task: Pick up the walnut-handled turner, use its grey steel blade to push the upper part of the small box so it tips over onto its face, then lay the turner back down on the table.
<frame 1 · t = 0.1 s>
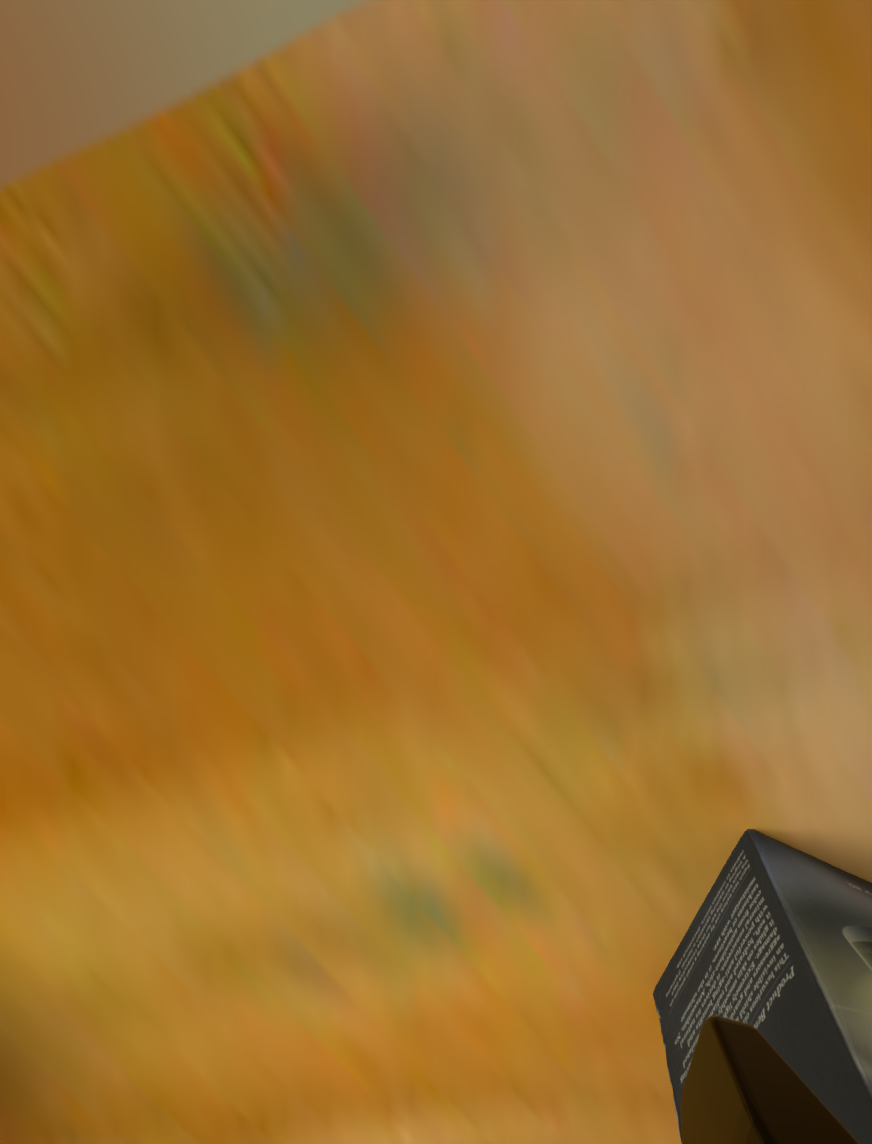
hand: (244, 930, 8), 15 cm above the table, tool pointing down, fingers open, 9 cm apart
small box: (868, 982, 23), on the table
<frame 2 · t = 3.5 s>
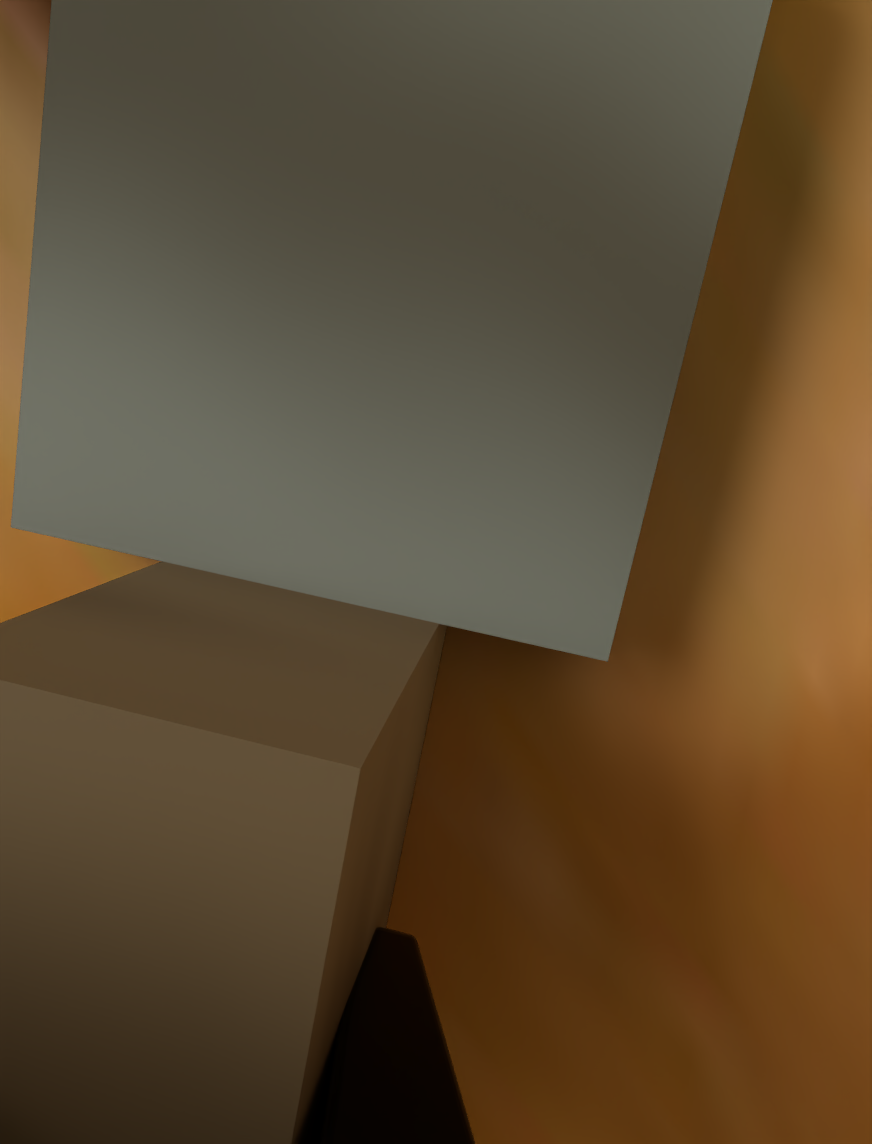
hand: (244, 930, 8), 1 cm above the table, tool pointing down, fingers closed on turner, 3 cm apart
turner: (328, 570, 8), on the table, touching gripper
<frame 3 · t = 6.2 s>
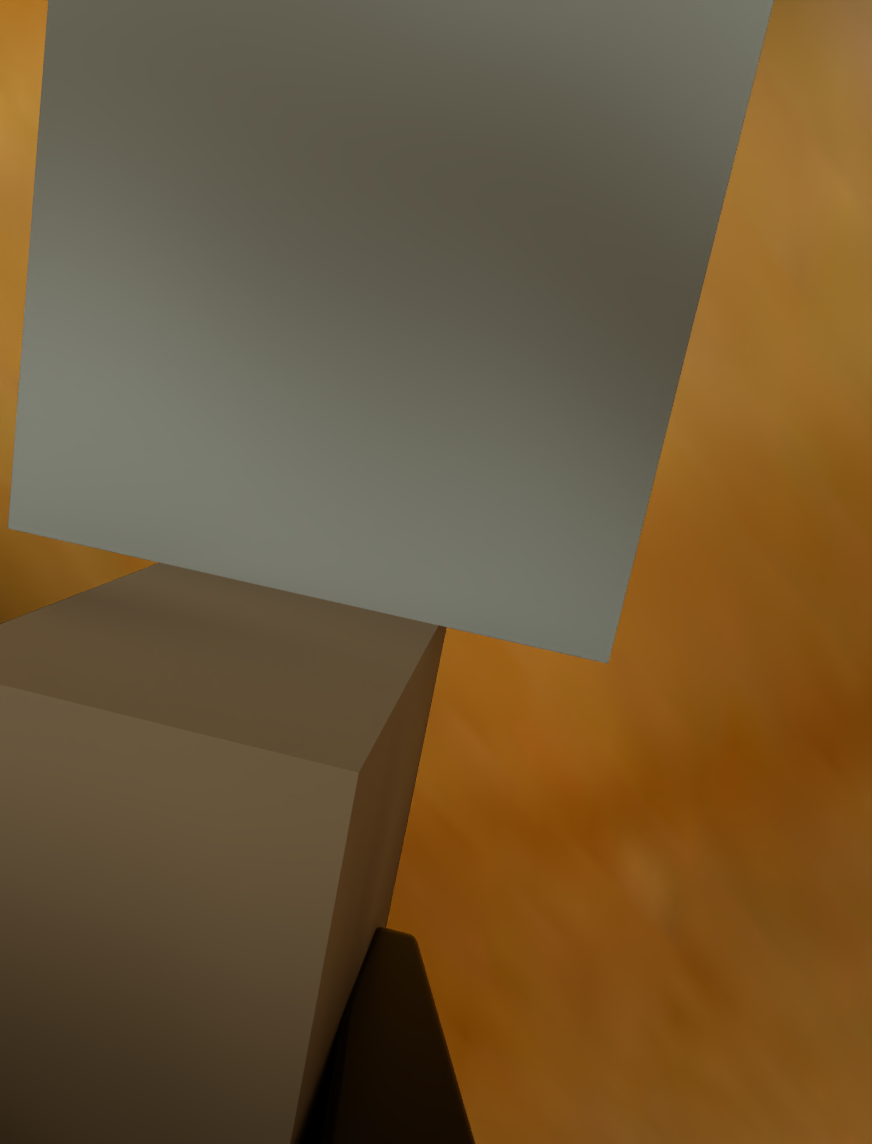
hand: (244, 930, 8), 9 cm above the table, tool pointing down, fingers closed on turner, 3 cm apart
turner: (327, 571, 8), point 8 cm above the table, touching gripper
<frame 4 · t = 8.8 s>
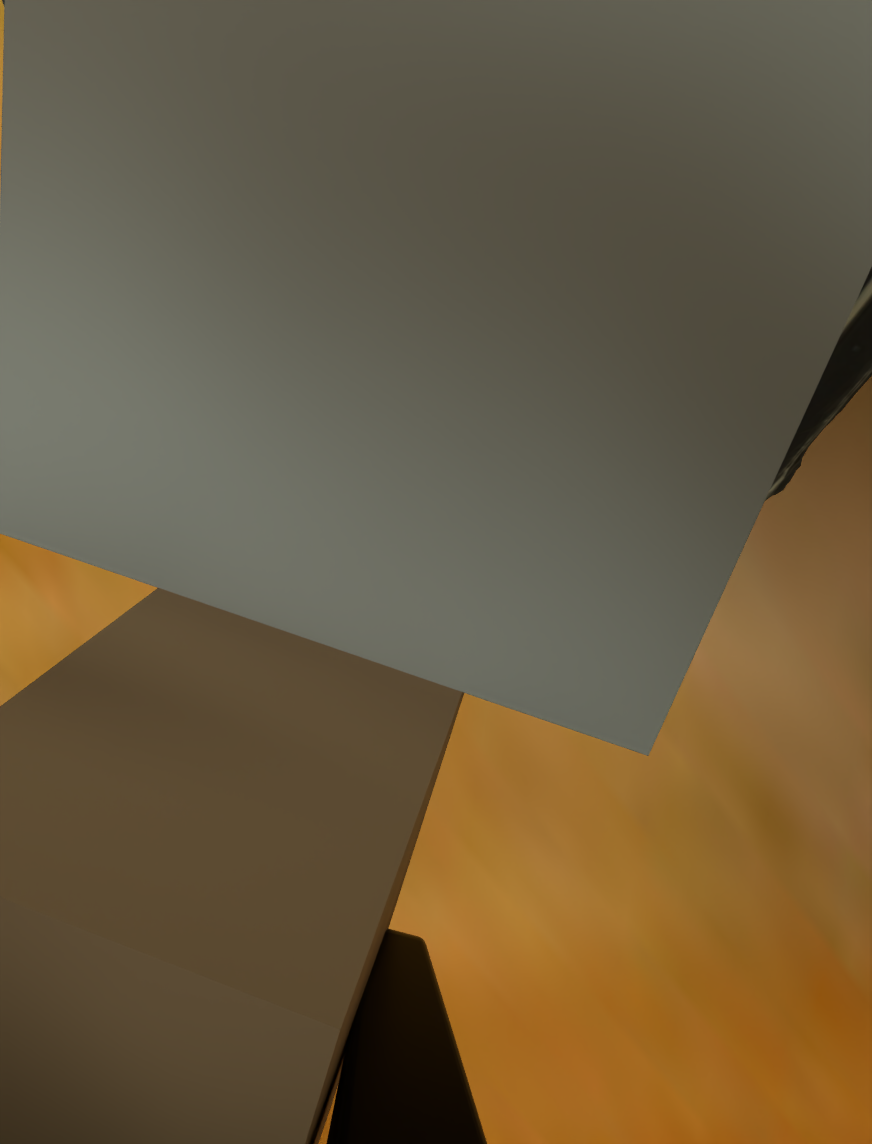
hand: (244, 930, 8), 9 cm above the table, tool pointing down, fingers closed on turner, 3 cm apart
turner: (346, 589, 7), point 8 cm above the table, tilted 12°, touching gripper
small box: (472, 246, 13), point 2 cm above the table
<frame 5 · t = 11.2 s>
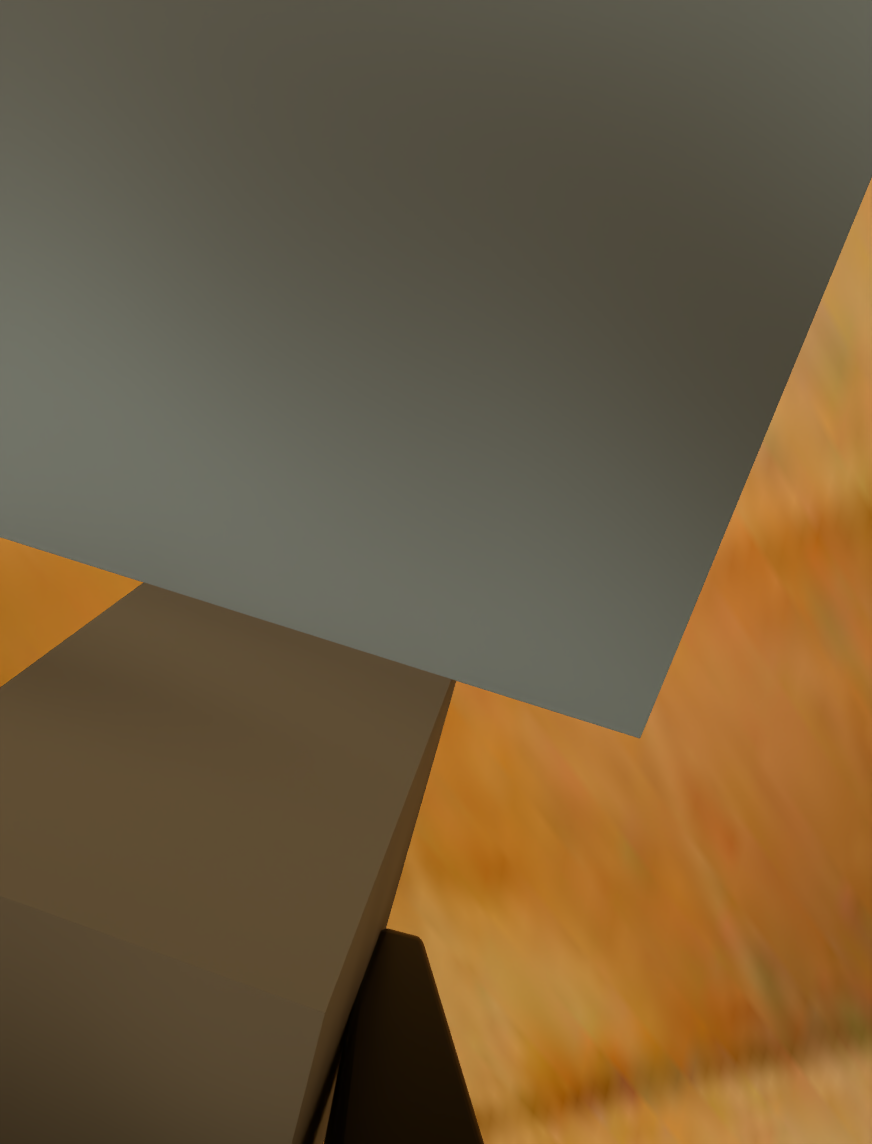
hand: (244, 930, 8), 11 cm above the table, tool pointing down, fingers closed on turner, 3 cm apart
turner: (334, 581, 7), point 11 cm above the table, tilted 12°, touching gripper
when the fingers open (2 cm above the table, at t = 13.1 s): turner drops 2 cm, on the table.
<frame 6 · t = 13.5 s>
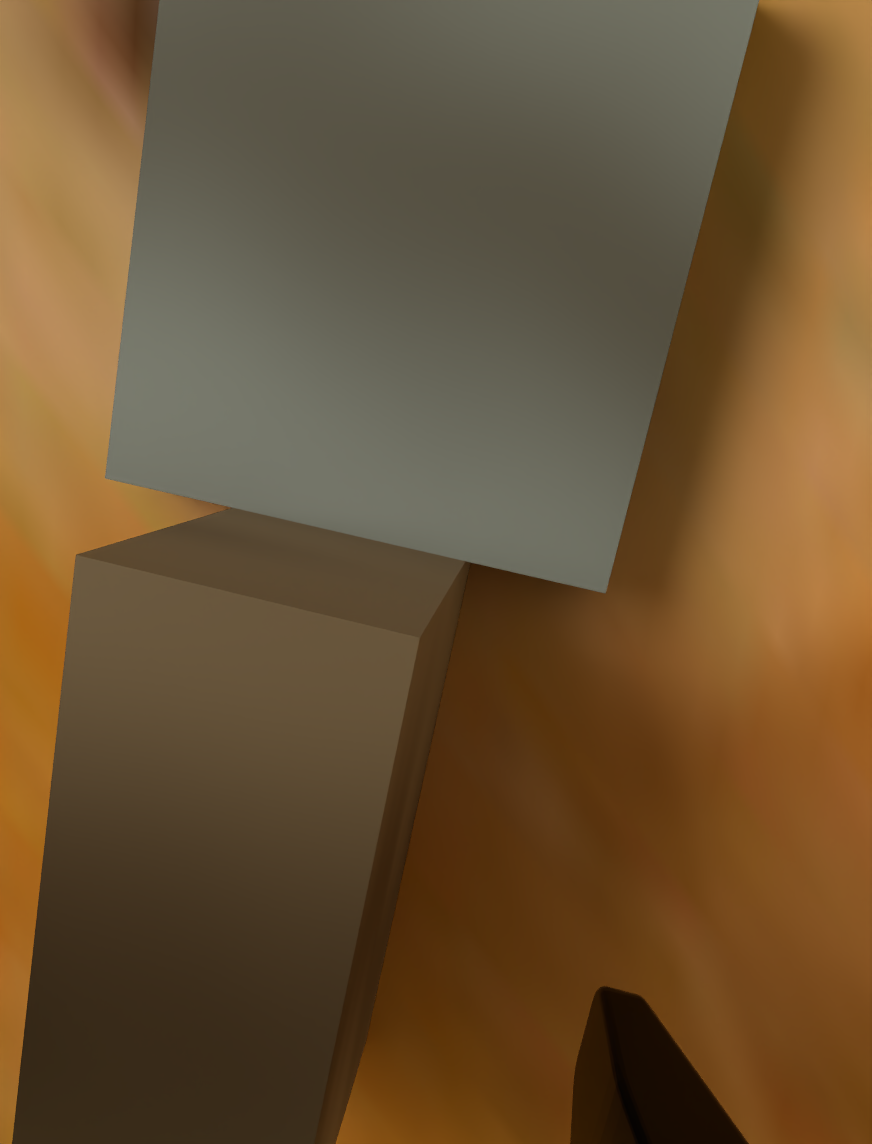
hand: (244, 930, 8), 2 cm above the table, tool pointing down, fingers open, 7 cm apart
turner: (368, 521, 10), on the table
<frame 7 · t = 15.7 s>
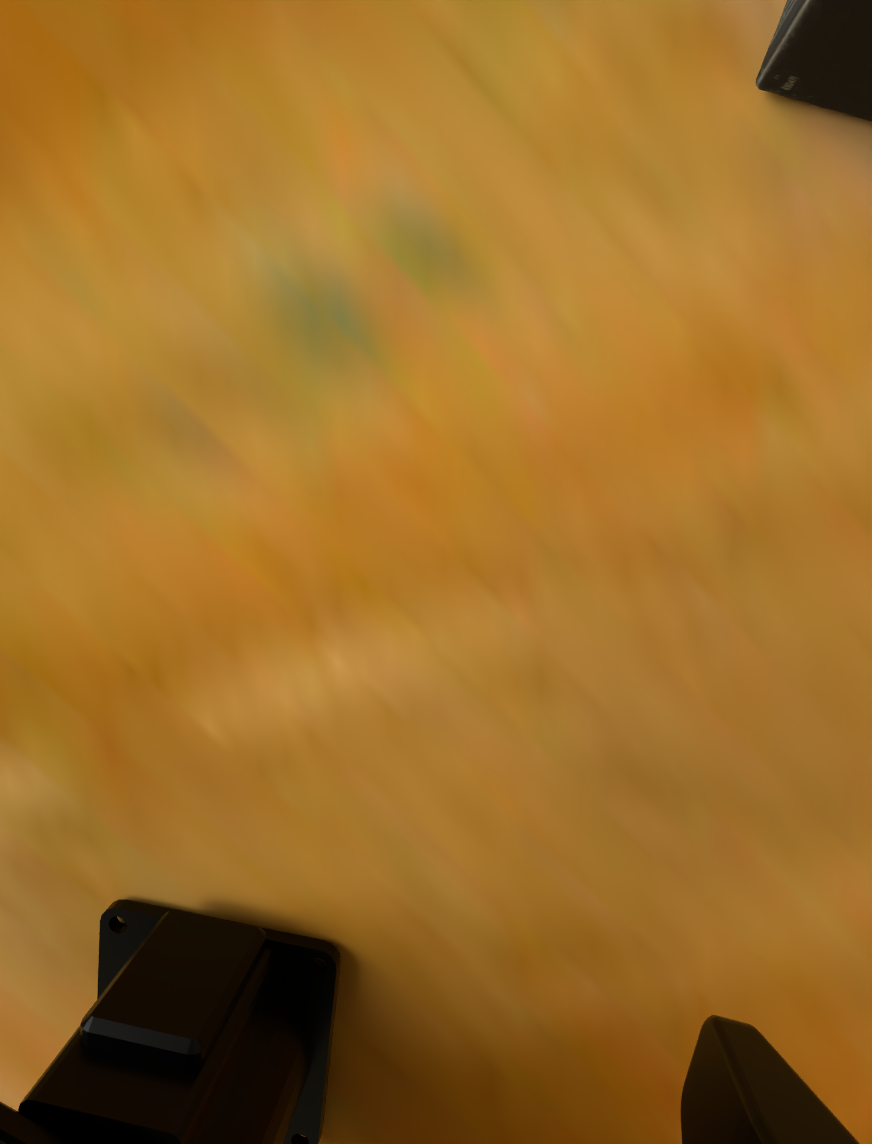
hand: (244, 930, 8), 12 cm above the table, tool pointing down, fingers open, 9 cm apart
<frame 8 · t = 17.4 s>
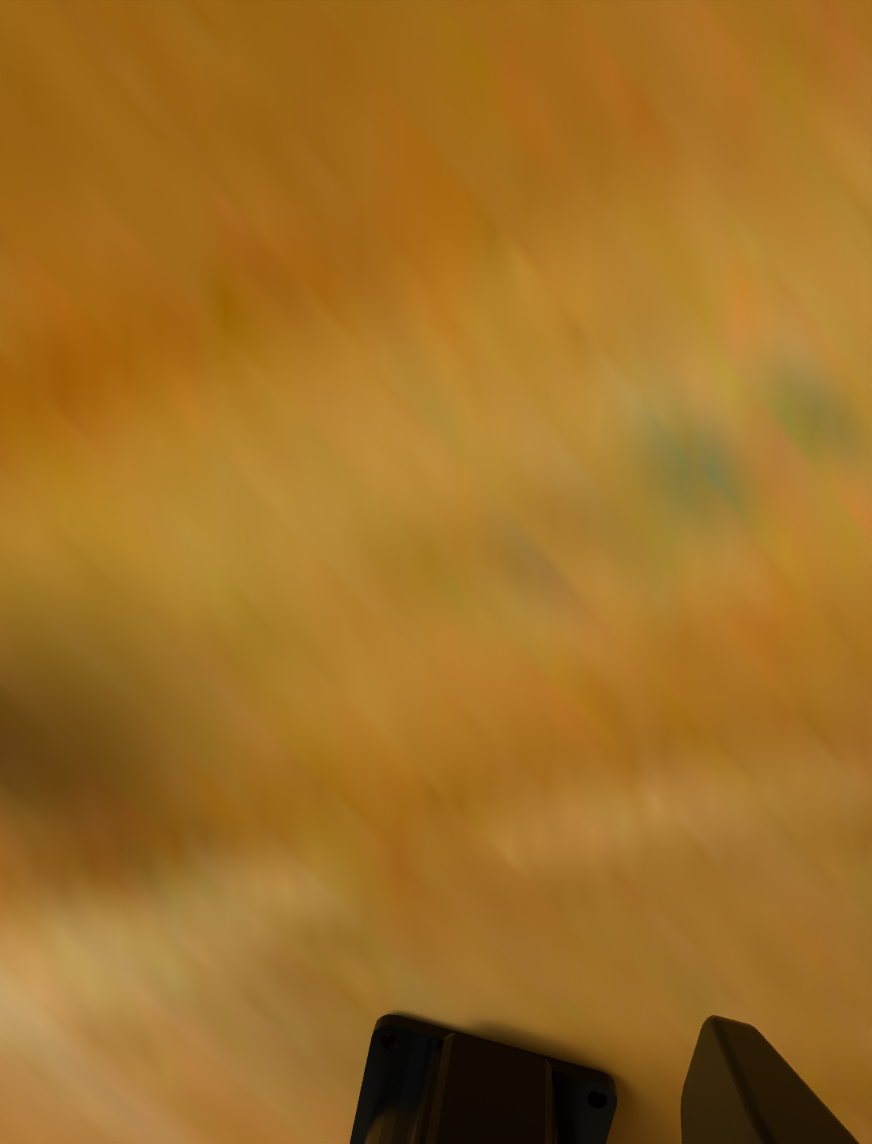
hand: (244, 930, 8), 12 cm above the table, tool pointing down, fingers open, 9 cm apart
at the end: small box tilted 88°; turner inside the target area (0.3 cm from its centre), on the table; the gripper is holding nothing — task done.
